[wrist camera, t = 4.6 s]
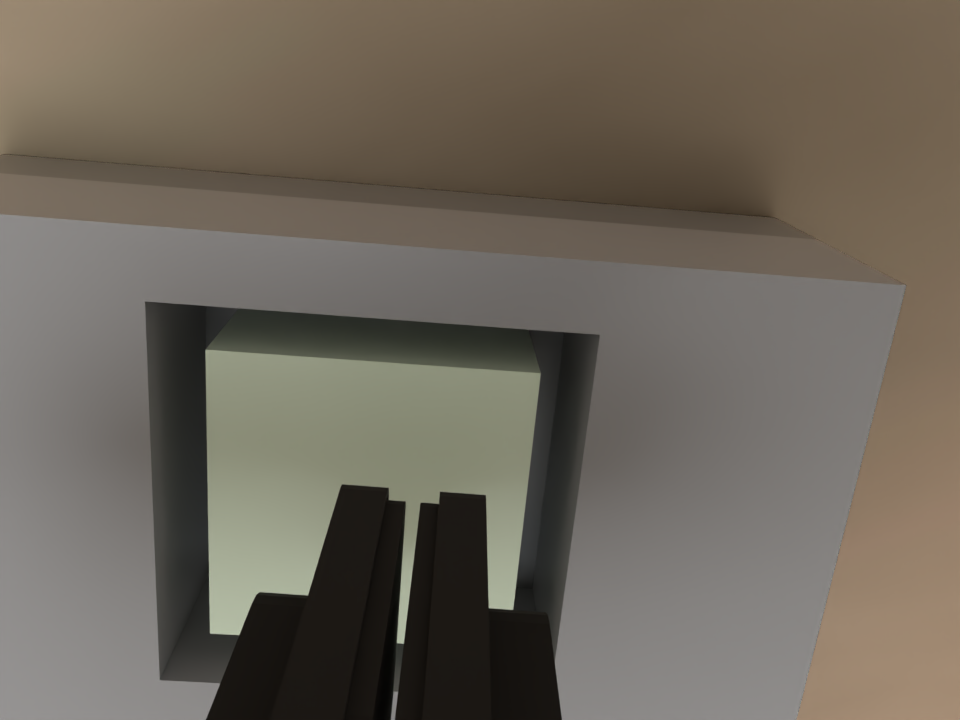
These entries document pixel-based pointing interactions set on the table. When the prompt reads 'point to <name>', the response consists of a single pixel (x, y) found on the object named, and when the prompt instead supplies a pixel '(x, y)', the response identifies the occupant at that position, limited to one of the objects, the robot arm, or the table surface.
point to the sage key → (357, 441)
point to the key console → (451, 300)
